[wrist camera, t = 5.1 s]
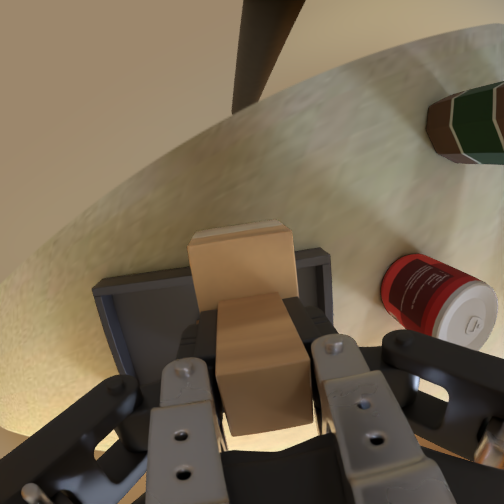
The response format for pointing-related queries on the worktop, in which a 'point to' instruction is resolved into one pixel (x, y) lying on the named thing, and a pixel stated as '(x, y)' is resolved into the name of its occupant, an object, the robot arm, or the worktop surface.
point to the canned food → (439, 301)
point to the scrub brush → (254, 324)
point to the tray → (179, 311)
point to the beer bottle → (469, 125)
